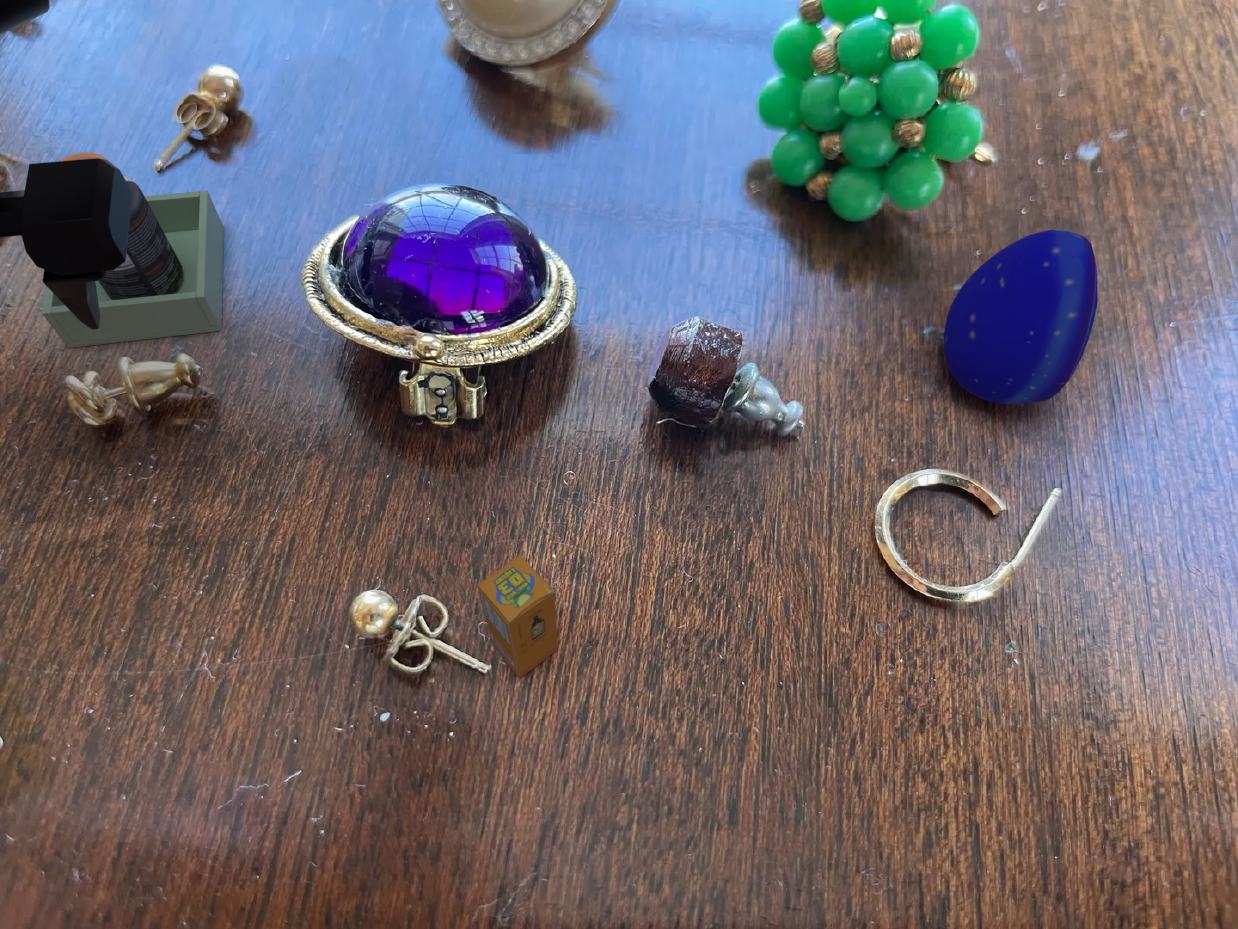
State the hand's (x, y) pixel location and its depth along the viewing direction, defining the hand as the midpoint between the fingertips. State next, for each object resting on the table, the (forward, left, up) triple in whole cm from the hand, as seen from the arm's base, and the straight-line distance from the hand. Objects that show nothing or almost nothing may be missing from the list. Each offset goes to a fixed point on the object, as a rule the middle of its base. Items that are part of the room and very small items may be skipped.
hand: (13, 332), depth 52 cm
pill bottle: (+2, +15, -13) cm, 20 cm away
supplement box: (+27, -20, -13) cm, 36 cm away
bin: (+2, +15, -13) cm, 20 cm away
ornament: (+67, -4, -13) cm, 68 cm away
